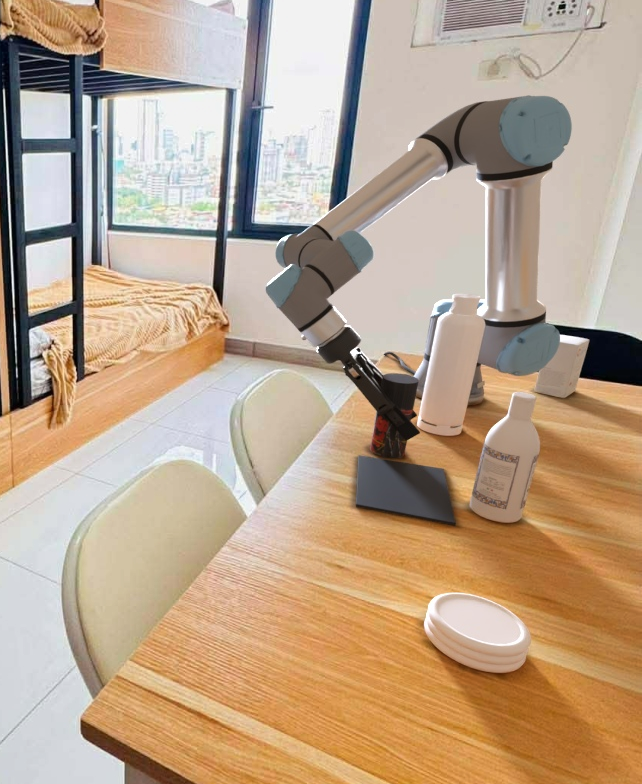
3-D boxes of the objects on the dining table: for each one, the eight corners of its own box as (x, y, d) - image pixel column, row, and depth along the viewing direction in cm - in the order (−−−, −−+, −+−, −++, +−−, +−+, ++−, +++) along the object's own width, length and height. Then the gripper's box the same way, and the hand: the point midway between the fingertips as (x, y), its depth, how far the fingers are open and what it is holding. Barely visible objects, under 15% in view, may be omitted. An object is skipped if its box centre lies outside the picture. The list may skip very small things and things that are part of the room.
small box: (544, 384, 156) (558, 333, 151) (575, 391, 151) (590, 339, 146) (532, 391, 151) (546, 339, 147) (564, 398, 146) (579, 345, 142)
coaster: (540, 651, 72) (548, 626, 70) (498, 689, 66) (506, 663, 65) (449, 603, 79) (455, 580, 78) (406, 634, 74) (411, 610, 73)
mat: (358, 457, 119) (358, 455, 119) (443, 471, 113) (443, 468, 113) (355, 506, 102) (356, 504, 102) (455, 525, 96) (456, 523, 96)
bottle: (464, 438, 126) (496, 301, 117) (419, 432, 129) (446, 298, 120) (457, 423, 134) (486, 293, 124) (414, 418, 136) (439, 290, 127)
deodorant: (408, 459, 118) (423, 384, 113) (374, 457, 119) (387, 382, 114) (399, 446, 123) (412, 374, 118) (366, 444, 124) (378, 372, 119)
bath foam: (502, 501, 103) (531, 386, 96) (531, 524, 96) (565, 403, 90) (459, 501, 103) (486, 387, 96) (486, 524, 96) (517, 403, 90)
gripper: (318, 335, 130) (392, 418, 129) (310, 363, 112) (395, 460, 111) (350, 312, 126) (426, 398, 125) (346, 337, 108) (435, 437, 107)
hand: (411, 427), depth 118 cm, fingers open, 8 cm apart
